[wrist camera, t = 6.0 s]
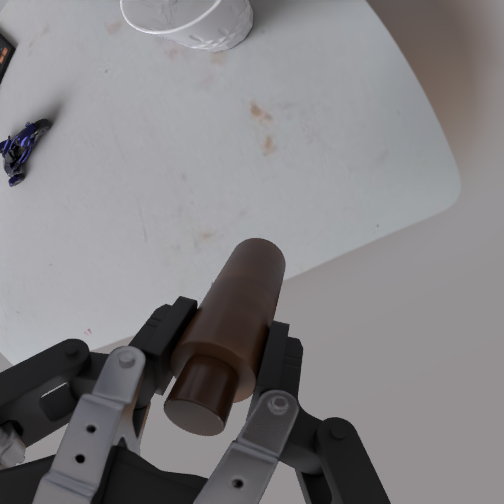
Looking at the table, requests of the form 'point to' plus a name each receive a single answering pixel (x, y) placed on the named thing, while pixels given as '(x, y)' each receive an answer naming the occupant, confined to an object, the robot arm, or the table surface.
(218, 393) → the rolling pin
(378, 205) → the table surface
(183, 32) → the white cup
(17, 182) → the toy car
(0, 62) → the calculator
